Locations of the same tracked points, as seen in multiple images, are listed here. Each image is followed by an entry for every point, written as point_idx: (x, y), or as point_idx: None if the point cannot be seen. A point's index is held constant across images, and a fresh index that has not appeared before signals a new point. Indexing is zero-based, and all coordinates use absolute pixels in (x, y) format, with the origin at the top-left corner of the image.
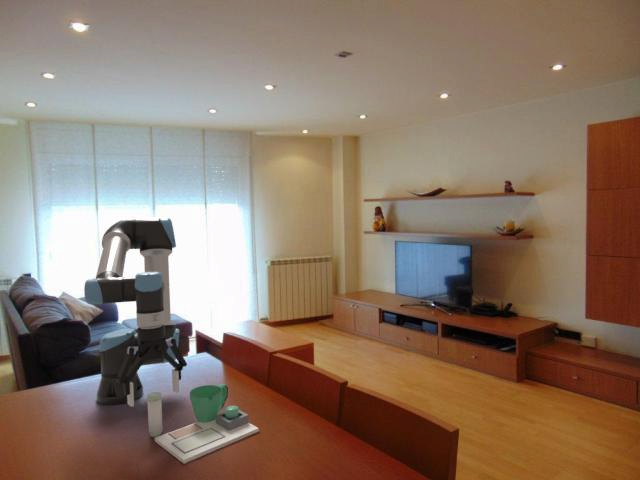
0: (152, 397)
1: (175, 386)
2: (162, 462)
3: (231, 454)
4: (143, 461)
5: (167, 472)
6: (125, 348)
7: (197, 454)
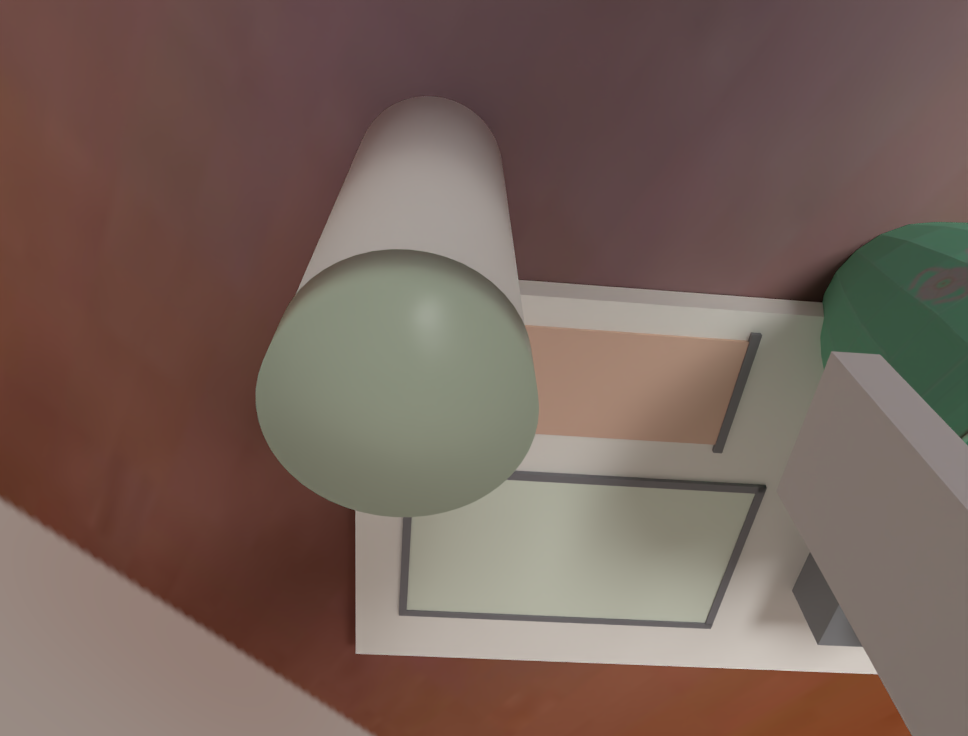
0: (315, 490)
1: (841, 530)
2: (266, 549)
3: (596, 711)
4: (165, 462)
5: (245, 637)
6: None
7: (450, 656)
